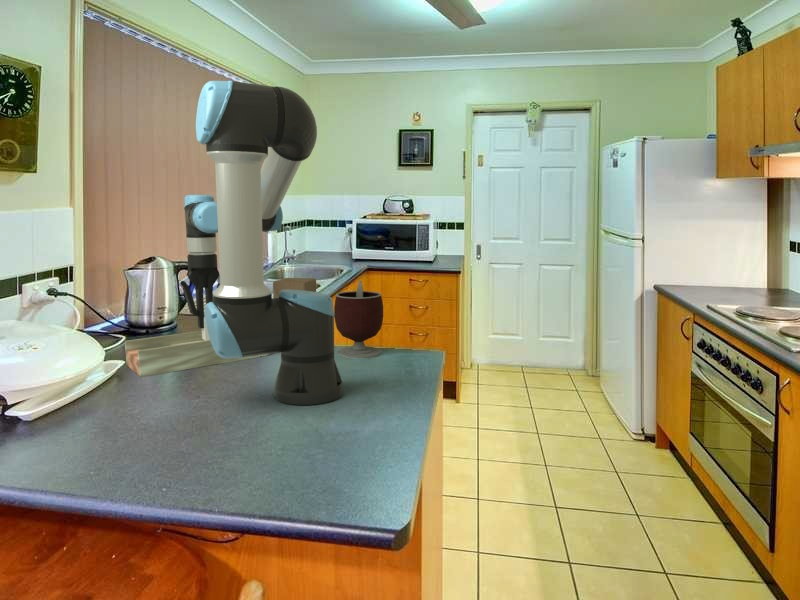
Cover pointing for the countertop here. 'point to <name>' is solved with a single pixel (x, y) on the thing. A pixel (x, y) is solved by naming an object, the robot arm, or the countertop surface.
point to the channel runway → (172, 354)
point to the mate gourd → (358, 320)
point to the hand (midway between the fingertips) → (206, 339)
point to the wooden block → (294, 285)
